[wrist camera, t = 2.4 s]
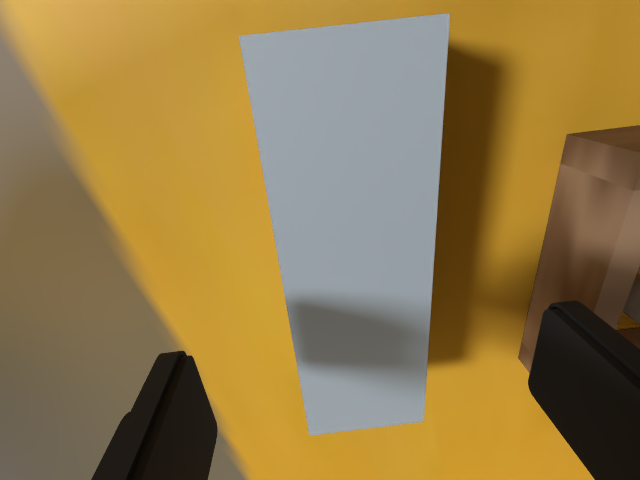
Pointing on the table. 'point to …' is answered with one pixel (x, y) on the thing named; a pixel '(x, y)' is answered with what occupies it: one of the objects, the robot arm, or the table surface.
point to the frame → (592, 234)
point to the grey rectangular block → (354, 206)
